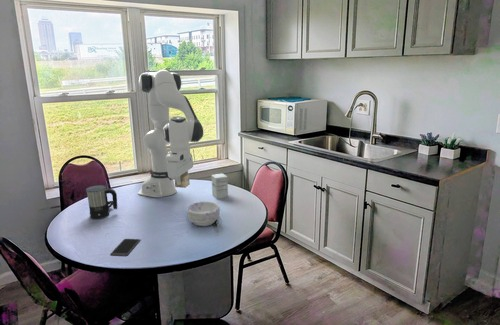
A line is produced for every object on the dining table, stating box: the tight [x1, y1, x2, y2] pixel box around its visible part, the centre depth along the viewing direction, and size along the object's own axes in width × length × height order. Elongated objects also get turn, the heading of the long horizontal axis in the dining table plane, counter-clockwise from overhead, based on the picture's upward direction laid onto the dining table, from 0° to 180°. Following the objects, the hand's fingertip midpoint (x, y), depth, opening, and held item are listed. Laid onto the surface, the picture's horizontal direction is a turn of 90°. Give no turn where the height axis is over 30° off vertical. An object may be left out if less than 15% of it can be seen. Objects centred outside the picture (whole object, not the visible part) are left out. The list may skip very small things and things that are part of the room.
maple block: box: [174, 173, 191, 189], centre depth 161 cm, size 5×5×5 cm
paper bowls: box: [187, 201, 221, 227], centre depth 169 cm, size 15×15×8 cm
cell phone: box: [110, 238, 141, 257], centre depth 147 cm, size 7×14×1 cm, turn 175°
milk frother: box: [85, 184, 118, 220], centre depth 181 cm, size 14×16×15 cm
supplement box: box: [211, 173, 229, 200], centre depth 203 cm, size 7×7×13 cm
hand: (182, 182), depth 162 cm, fingers closed on maple block, 5 cm apart
